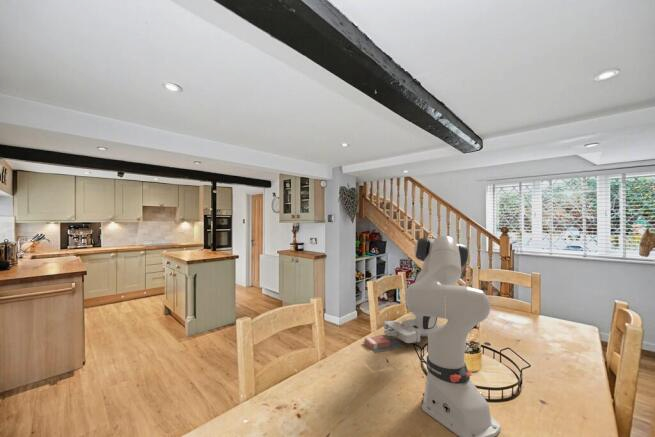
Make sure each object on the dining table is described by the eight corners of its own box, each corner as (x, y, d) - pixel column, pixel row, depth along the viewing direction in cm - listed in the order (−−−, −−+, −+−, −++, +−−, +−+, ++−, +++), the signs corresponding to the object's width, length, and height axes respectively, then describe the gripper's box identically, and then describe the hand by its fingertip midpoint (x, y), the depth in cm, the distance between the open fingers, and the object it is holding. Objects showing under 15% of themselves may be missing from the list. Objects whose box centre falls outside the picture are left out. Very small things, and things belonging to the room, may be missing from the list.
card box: (389, 341, 128) (371, 344, 124) (389, 346, 128) (371, 349, 124) (382, 335, 134) (364, 338, 131) (382, 340, 134) (364, 343, 131)
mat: (406, 347, 127) (406, 347, 127) (375, 353, 121) (375, 352, 121) (392, 338, 138) (392, 337, 138) (363, 342, 132) (363, 342, 132)
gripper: (396, 316, 146) (374, 319, 141) (422, 330, 126) (397, 334, 122) (397, 328, 145) (375, 331, 141) (422, 343, 126) (397, 348, 121)
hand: (385, 332), depth 131 cm, fingers closed
